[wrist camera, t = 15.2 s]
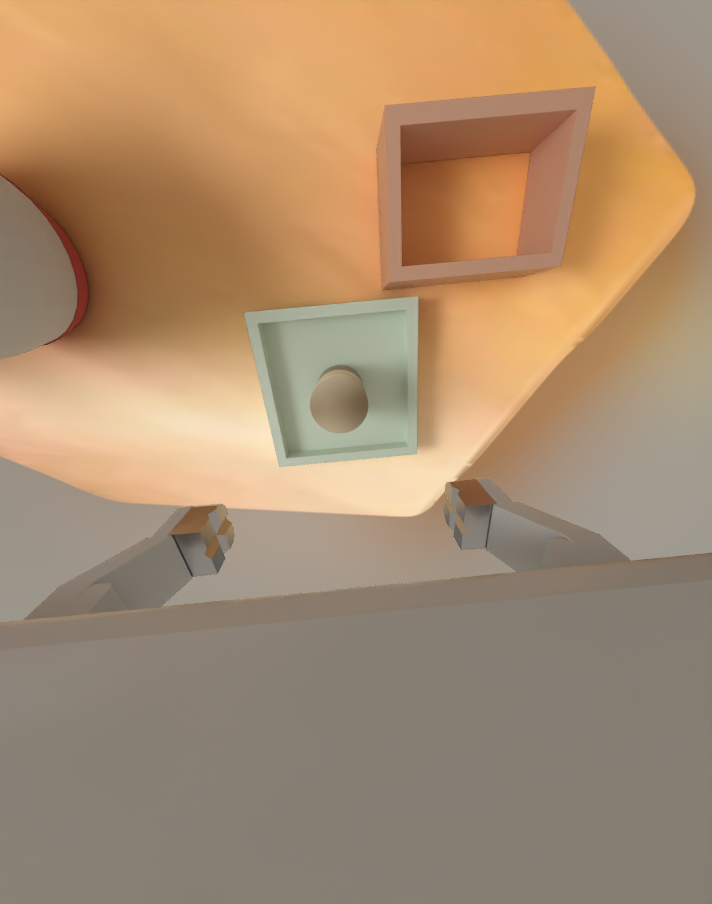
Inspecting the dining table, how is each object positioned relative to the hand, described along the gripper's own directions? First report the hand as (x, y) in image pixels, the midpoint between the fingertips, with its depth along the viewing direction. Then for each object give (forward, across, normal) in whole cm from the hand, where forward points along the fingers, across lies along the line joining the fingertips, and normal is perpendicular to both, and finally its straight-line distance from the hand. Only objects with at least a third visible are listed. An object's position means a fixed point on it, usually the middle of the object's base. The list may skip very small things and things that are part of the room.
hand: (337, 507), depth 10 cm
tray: (+22, 0, 0) cm, 22 cm away
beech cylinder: (+22, 0, 0) cm, 22 cm away
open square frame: (+22, -12, -14) cm, 29 cm away
